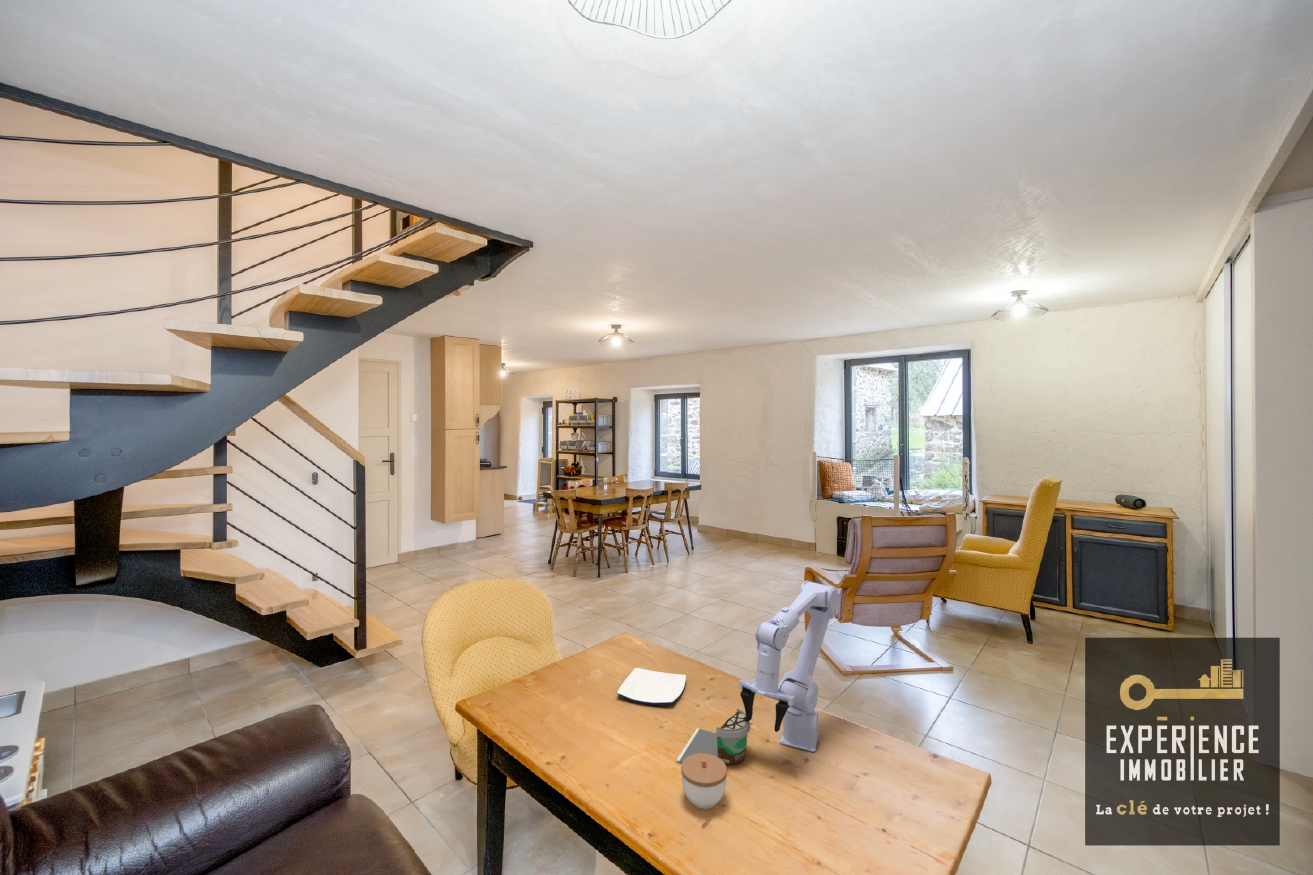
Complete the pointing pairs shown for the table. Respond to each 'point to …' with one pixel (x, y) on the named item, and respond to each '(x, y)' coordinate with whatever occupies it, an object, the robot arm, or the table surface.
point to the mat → (700, 744)
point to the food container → (733, 739)
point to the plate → (652, 687)
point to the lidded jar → (703, 779)
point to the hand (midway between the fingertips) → (762, 725)
